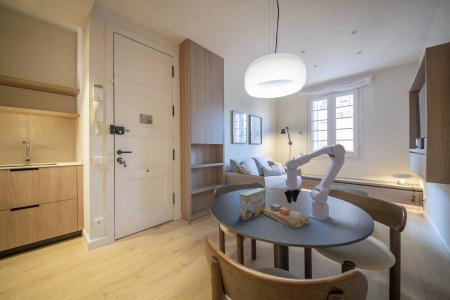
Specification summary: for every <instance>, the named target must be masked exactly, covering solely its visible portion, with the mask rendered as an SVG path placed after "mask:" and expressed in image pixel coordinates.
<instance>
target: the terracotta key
mask: <svg viewBox="0 0 450 300" xmlns="http://www.w3.org/2000/svg"><path fill="white" fill-rule="evenodd" d="M291 210H292V209H290V208H288V207H285V206H283V207H282V208H279V213H280V214H283V215H285V216H286V215H289V212H291Z"/></svg>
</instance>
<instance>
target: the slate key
mask: <svg viewBox="0 0 450 300" xmlns="http://www.w3.org/2000/svg"><path fill="white" fill-rule="evenodd" d="M281 207H282V205H280V204H277V203H274V204H270V208H271V210H273V211H275V212H277V211H279V208H281Z"/></svg>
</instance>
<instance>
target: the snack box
mask: <svg viewBox="0 0 450 300" xmlns="http://www.w3.org/2000/svg"><path fill="white" fill-rule="evenodd" d="M266 191H267V190H266V188H264V187H263V188H261V187H257V188H254V189H251V190H247V191H244V192H242V193H239V196H238V197H239V198H238V208H239V209H238V219H239V220H240V221H243V222H249V221H250V220H252V219H254V218H256V217H258V216H260V215H262V214H264V209H266Z"/></svg>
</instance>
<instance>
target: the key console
mask: <svg viewBox="0 0 450 300" xmlns="http://www.w3.org/2000/svg"><path fill="white" fill-rule="evenodd" d="M281 208H283V207H282V206H281ZM292 211H293V210H292ZM292 211H291V212H292ZM263 214H264V215H265V216H267V217H269V218H272V219H273V220H275V221H277V222H280V223H282V224H283V225H286V226H288V227H290V228H292V229H297V228H300V227H302V226H304V225H305V226H306V225H307V224H309V223H310V217H309V216H305V215H303V214H301V219H298V220H294V219H292V218H290V217H289V215H286V216H285V215H283V214H280V213H279V211H277V212H275V211H273V210H271V207H268V208H265V209H264V213H263Z"/></svg>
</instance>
